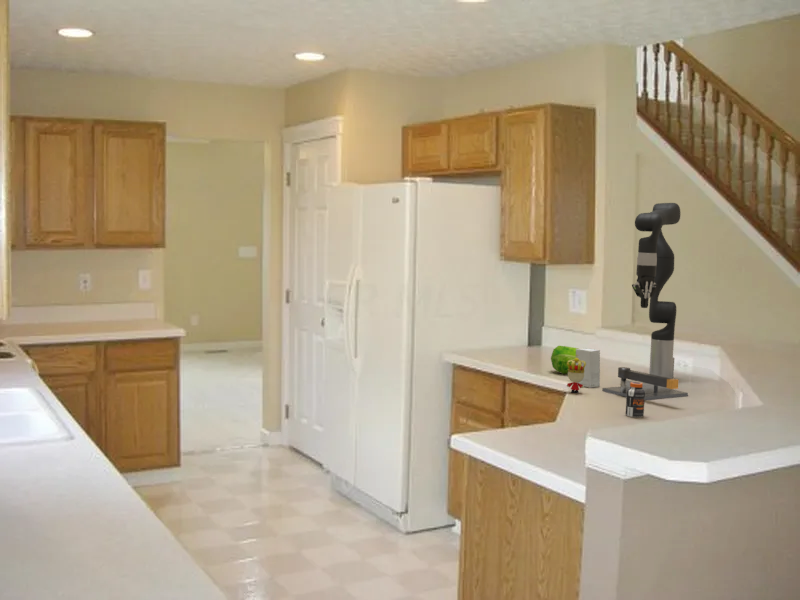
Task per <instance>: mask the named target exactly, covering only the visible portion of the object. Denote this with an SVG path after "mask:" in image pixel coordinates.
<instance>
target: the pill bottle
mask: <svg viewBox="0 0 800 600" xmlns="http://www.w3.org/2000/svg"><path fill="white" fill-rule="evenodd" d="M642 387H643V384H642V383H639V382H631V383H630V388H629V389H628V390H627V397H625V398H626V399H625V402H626V403H625V415H626V416H627V417H630V418H643V417H644V412H645V401H646V400H645V391H644V390H643V389H642Z"/></svg>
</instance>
